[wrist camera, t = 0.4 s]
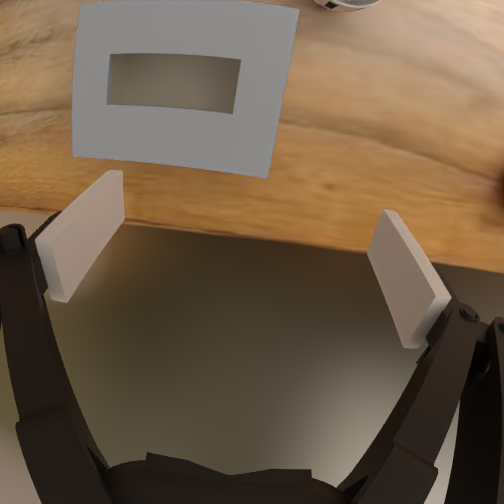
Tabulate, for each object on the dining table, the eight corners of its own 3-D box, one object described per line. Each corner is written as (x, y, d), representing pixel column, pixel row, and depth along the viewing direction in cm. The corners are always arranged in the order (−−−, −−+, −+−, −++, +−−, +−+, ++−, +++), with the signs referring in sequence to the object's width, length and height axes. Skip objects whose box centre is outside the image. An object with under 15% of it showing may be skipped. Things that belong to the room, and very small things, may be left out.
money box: (128, 15, 29) (80, 4, 19) (289, 25, 30) (300, 9, 20) (118, 129, 38) (72, 156, 28) (267, 146, 39) (267, 178, 29)
